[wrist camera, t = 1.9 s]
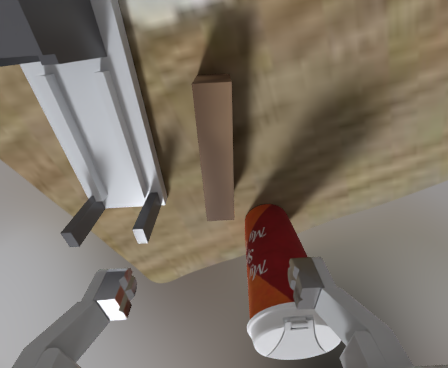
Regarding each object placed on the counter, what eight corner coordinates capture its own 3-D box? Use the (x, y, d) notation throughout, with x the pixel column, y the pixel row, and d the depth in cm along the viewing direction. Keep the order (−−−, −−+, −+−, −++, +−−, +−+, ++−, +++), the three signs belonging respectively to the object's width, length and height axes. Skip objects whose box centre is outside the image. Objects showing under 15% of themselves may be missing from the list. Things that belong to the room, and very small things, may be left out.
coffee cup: (233, 200, 29) (244, 326, 16) (296, 193, 28) (358, 316, 16) (239, 243, 33) (251, 365, 21) (293, 237, 33) (339, 359, 20)
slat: (229, 73, 20) (231, 82, 16) (231, 193, 28) (234, 219, 24) (197, 74, 20) (191, 83, 16) (209, 194, 28) (207, 220, 24)
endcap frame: (116, -6, 17) (34, -40, 9) (167, 197, 28) (148, 255, 21) (3, 2, 17) (-165, -26, 10) (99, 201, 28) (55, 259, 21)
